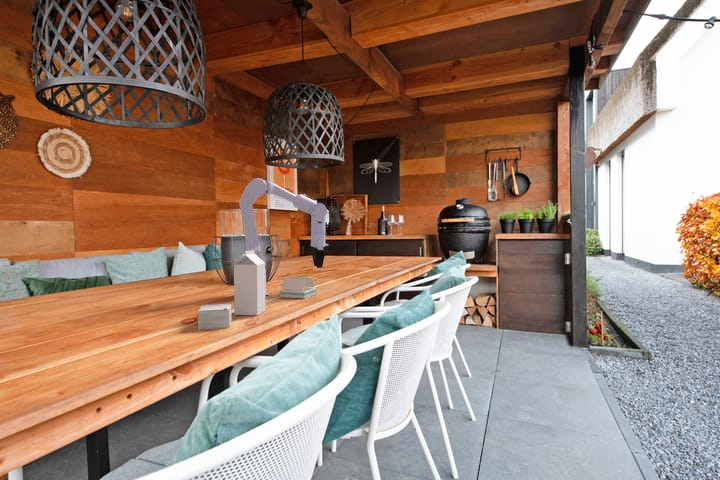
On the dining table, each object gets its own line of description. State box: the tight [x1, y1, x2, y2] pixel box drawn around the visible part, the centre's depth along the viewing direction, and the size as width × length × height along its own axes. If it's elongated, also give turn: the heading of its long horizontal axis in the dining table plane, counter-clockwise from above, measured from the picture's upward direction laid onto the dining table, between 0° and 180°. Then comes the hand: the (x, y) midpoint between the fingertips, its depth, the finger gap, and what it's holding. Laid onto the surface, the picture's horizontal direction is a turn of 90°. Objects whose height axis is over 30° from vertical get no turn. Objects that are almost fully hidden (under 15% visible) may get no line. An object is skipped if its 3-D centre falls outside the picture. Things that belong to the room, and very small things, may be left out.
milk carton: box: [233, 250, 266, 316], centre depth 120 cm, size 7×7×19 cm
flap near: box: [280, 278, 306, 290], centre depth 147 cm, size 1×9×4 cm, turn 71°
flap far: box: [291, 276, 316, 288], centre depth 154 cm, size 1×9×4 cm, turn 71°
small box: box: [197, 303, 233, 331], centre depth 106 cm, size 8×8×5 cm
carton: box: [279, 286, 318, 300], centre depth 151 cm, size 10×10×3 cm
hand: (318, 266), depth 161 cm, fingers open, 7 cm apart
